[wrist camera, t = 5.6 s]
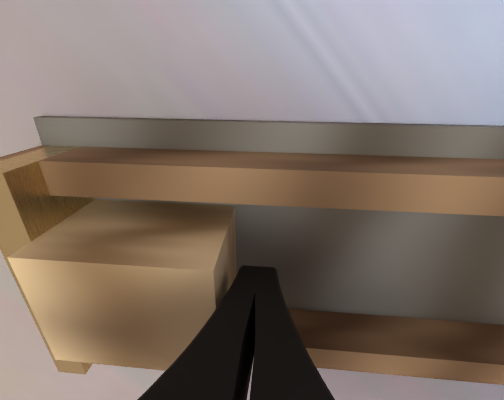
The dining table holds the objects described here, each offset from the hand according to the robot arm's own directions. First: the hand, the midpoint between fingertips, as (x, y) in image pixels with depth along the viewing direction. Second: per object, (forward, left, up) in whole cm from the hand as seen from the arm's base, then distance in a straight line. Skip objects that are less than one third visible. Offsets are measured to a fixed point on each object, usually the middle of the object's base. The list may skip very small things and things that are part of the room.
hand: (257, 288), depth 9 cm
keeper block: (+2, -4, -2) cm, 5 cm away
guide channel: (-1, +2, -3) cm, 4 cm away
